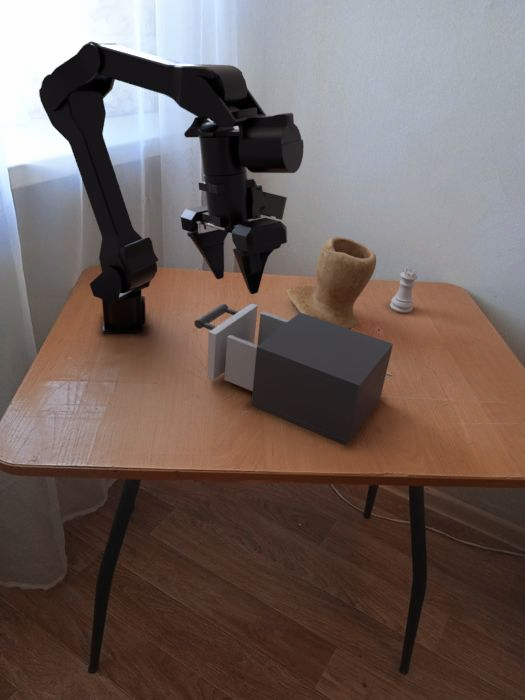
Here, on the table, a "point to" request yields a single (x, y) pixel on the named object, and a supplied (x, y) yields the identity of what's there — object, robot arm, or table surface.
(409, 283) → the rook chess piece
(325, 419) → the cabinet
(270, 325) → the drawer
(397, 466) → the table surface
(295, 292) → the stone cup
